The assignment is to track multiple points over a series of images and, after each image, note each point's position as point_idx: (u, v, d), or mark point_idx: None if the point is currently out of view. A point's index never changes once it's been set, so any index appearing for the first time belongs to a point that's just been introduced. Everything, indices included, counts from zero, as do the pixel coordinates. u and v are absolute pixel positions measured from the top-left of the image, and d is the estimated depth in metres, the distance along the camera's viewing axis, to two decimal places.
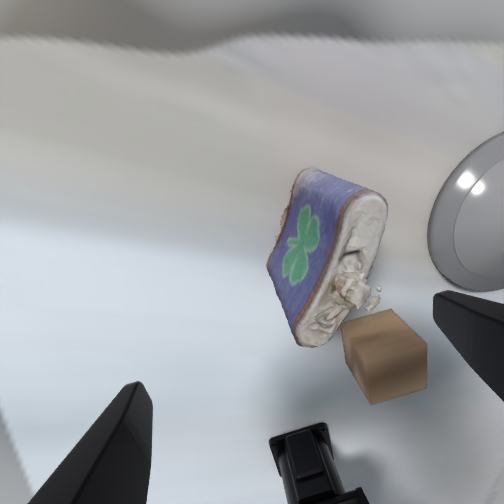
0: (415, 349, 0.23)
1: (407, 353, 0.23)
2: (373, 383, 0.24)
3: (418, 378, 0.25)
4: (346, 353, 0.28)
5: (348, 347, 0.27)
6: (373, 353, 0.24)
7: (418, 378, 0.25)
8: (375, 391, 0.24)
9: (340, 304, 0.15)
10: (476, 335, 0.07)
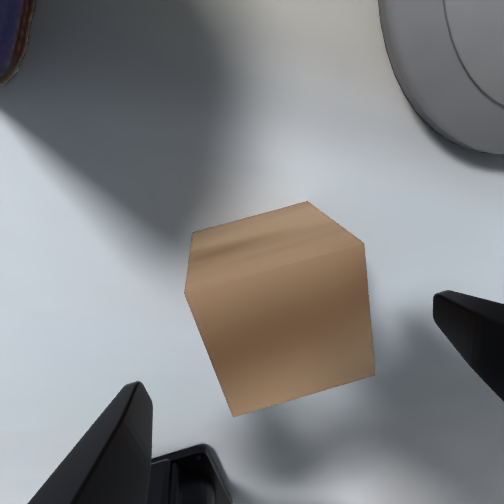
0: (331, 260, 0.08)
1: (309, 270, 0.08)
2: (224, 360, 0.09)
3: (351, 349, 0.09)
4: None
5: None
6: (216, 274, 0.08)
7: (350, 348, 0.09)
8: (236, 382, 0.09)
9: None
10: (476, 335, 0.07)
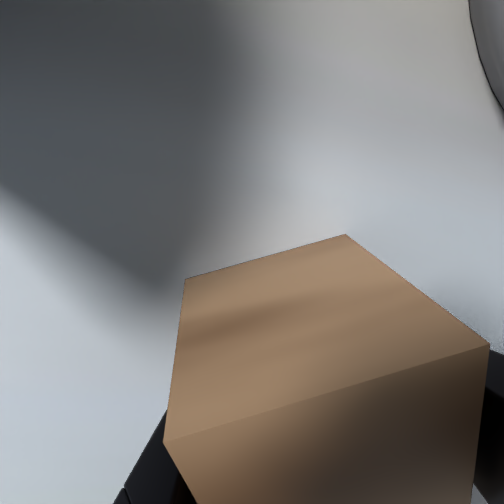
0: (428, 372, 0.04)
1: (389, 391, 0.04)
2: None
3: (438, 491, 0.06)
4: None
5: None
6: (221, 391, 0.05)
7: (438, 490, 0.06)
8: None
9: None
10: None
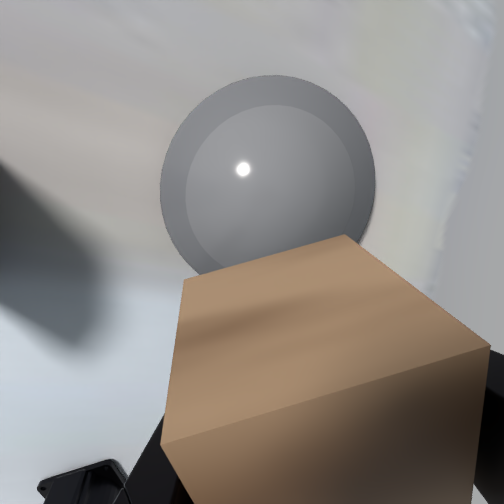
0: (429, 374, 0.04)
1: (389, 392, 0.04)
2: None
3: (439, 494, 0.06)
4: None
5: None
6: (219, 392, 0.05)
7: (438, 492, 0.06)
8: None
9: None
10: None
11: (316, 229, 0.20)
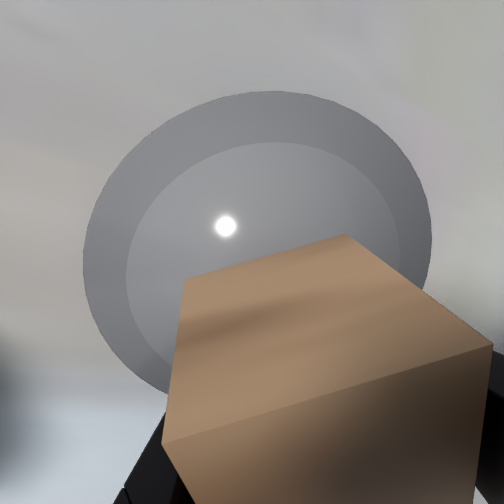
0: (431, 373, 0.04)
1: (391, 391, 0.04)
2: None
3: (440, 493, 0.06)
4: None
5: None
6: (220, 392, 0.05)
7: (440, 492, 0.06)
8: None
9: None
10: None
11: None
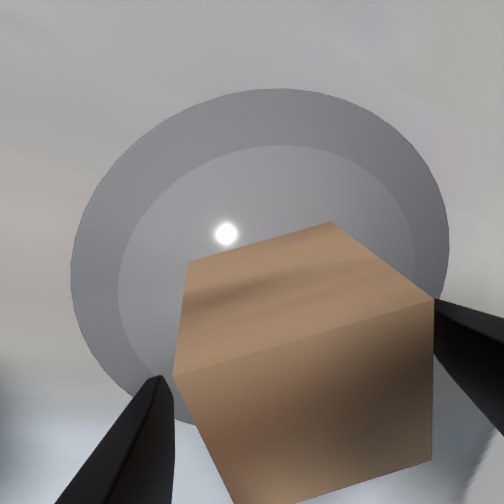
0: (385, 322, 0.06)
1: (354, 338, 0.06)
2: (231, 455, 0.06)
3: (403, 432, 0.07)
4: None
5: None
6: (218, 341, 0.06)
7: (402, 431, 0.07)
8: (247, 480, 0.07)
9: None
10: (452, 342, 0.07)
11: None
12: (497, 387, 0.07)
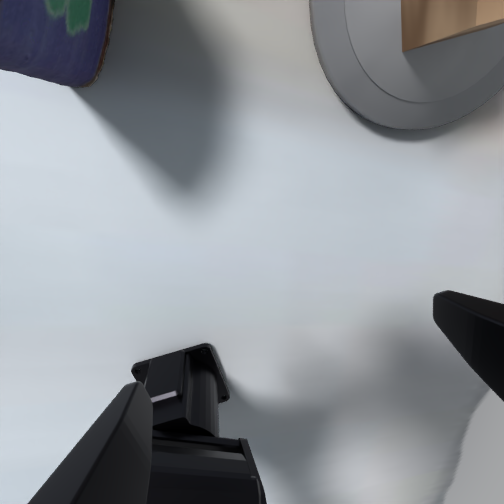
0: None
1: None
2: None
3: None
4: (408, 9, 0.15)
5: None
6: None
7: None
8: None
9: None
10: (476, 335, 0.07)
11: (486, 33, 0.17)
12: None
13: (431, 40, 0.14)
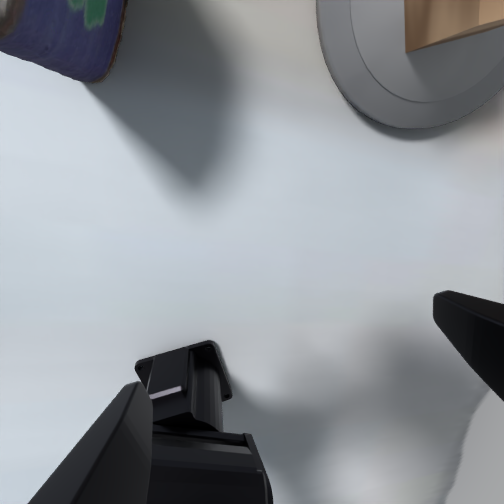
0: None
1: None
2: None
3: None
4: (411, 11, 0.16)
5: None
6: None
7: None
8: None
9: None
10: (476, 335, 0.07)
11: (485, 36, 0.17)
12: None
13: (434, 40, 0.15)
